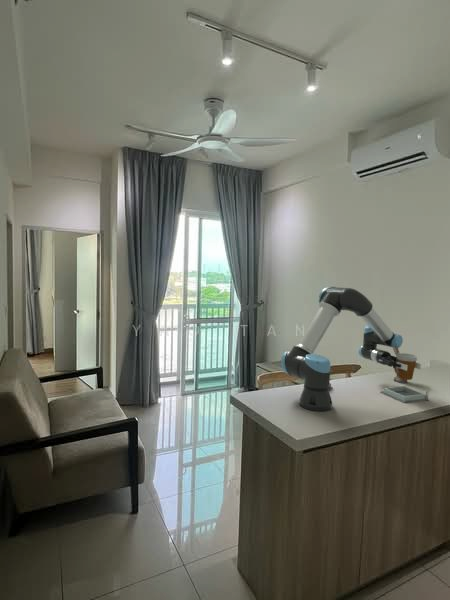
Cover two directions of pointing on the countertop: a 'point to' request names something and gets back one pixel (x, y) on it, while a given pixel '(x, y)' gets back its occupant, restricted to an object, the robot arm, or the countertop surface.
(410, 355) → the disposable coffee cup
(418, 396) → the tray
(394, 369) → the mortar and pestle
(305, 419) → the countertop surface
